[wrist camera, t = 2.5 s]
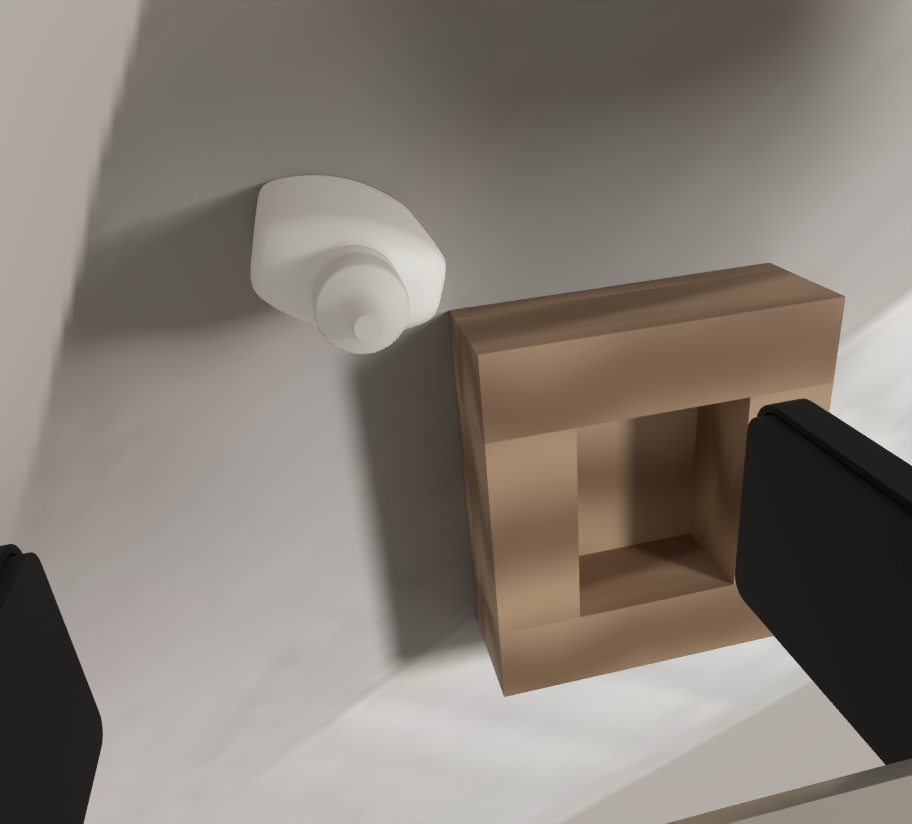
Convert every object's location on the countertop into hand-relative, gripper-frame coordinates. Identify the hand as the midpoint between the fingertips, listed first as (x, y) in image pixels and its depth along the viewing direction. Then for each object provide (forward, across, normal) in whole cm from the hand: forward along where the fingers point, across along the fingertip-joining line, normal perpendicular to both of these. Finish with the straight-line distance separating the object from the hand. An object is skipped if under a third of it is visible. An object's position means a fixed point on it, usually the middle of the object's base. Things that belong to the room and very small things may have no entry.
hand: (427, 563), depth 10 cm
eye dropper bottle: (+21, 0, 0) cm, 21 cm away
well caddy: (+21, -11, +12) cm, 27 cm away
